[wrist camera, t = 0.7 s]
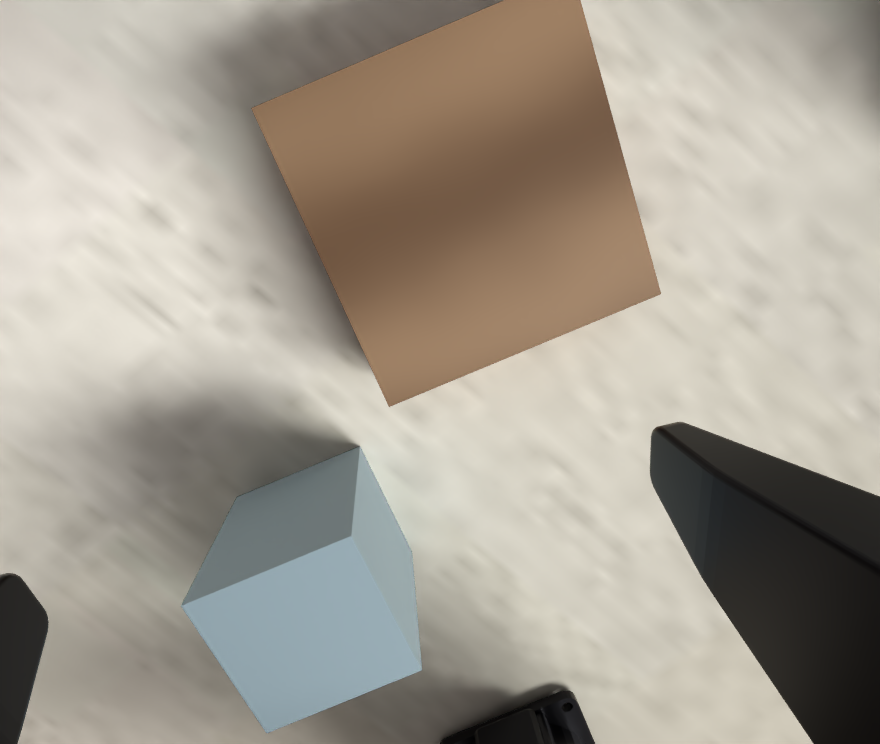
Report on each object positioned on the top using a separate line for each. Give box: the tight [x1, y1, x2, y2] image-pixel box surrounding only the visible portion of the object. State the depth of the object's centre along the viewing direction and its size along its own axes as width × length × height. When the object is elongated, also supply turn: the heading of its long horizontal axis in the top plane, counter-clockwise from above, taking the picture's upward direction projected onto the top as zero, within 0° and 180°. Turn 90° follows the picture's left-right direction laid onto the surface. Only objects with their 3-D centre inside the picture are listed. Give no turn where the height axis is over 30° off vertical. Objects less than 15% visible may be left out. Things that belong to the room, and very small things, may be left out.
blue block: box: [181, 446, 422, 733], centre depth 19 cm, size 5×5×6 cm
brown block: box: [251, 0, 661, 407], centre depth 17 cm, size 9×9×3 cm
